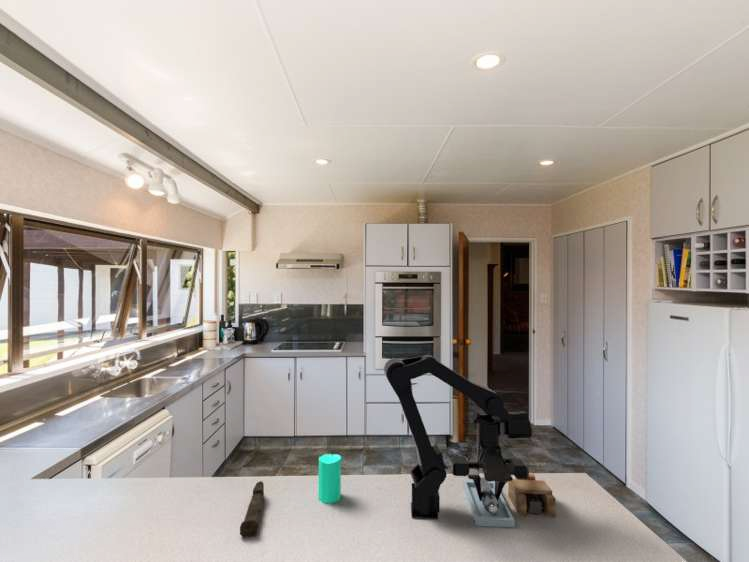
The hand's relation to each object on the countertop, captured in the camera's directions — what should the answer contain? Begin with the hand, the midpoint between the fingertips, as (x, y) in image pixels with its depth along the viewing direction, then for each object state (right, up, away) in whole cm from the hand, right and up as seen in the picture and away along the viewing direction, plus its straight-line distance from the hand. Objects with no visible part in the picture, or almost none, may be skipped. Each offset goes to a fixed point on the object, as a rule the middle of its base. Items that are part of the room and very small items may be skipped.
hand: (488, 500), depth 100 cm
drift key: (+12, -2, +3) cm, 12 cm away
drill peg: (0, -1, +1) cm, 1 cm away
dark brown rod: (-59, -2, -3) cm, 59 cm away
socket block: (+12, -3, +2) cm, 12 cm away
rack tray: (0, -2, +2) cm, 3 cm away
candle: (-41, -2, +5) cm, 42 cm away
